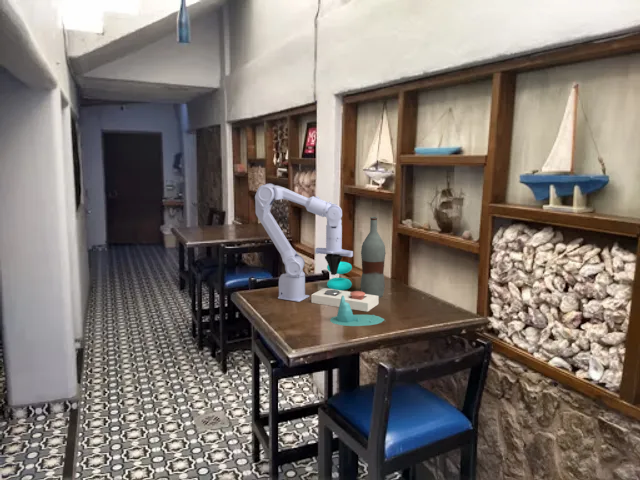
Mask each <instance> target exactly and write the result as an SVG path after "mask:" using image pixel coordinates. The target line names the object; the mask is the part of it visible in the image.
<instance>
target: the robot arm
mask: <svg viewBox="0 0 640 480" xmlns="http://www.w3.org/2000/svg"><path fill="white" fill-rule="evenodd" d="M254 200H255V201H254V202H255V203H254V204H255V215H256V217H257V219H258V220H259V221H260V223H261V225H262V227H263V228H264V230H265V232H266V233H267V235H268V236H269V238H270V240H271V241H272V243H273V244H274V246H275V248H276V250H277V251H278V252H279V254H280V257H281V259H282V263H283V264H284V271H285V273H282V274H280V276H279V278H278V297H277V299H279V300H285V301H292V302H298V303H300V302H302V301H303V300H306V299H308V298H309V297H310V295H309V294H306V273H305V272H304V270H303V269H304V268H305V265H306V264H305V259H304V258H303V256H301V255H300V254H299V253H298V252H297V251H296V250H295V249H294V248H293V246H292V245H291V243H290V241H289V240H288V239H287V237H286V236H285V233H284V232H283V230H282V229H281V227H280V226H279V224H278V222H277V220H276V219H275V217H274V216H273V214H272V213H271V209H272V207H273V203H274V201H278V200H279V201H280V200H286V201H287V200H288V201H290V202H292V203H295V204H297V205H301V206H303V207H305V209H306V211H307V212H309V213H312V214H313V215H317V216H319V217H322V218H326V225H325V234H326V235H325V236H326V237H325V247H316V248H315V250H314V251H315V252H314V253H315V254H316V255H317V254H319V255H320V254H321V255H322V254H323V255H325V256H324V259H325V261H326V263H327V265H329V268H330V271H329V273H330V275H332V276H336V275H338V274H337V270H338V266H339V263H340V262H342V259H343V257H348V258H352V257H354V251H353V250H347V249H343V248H342V247H343V246H342V245H343V243H342V242H343V241H342V240H343V239H342V238H343V234H342V233H343V225H342V224H343V223H342V222H343V221H342V217H343V210H342V208H341V206H339V205H338V204H337V203H333V202H332V201H326V200H324V199H321V197H320V196H319V195H316V196H314V195H313V196H310V197H307V196H305V195H302V194H300V193H298V192H295V191H293V190H290V189H288V188H286V187H283V186H281V185H278V184H277V185H275V184H273V183H265V184H262V185H260V186H258V188H257V190H256V193H255V196H254ZM310 298H311V297H310Z"/></svg>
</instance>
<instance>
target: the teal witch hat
mask: <svg viewBox="0 0 640 480" xmlns="http://www.w3.org/2000/svg"><path fill="white" fill-rule="evenodd" d="M353 313H354V312H353V309H351V307H350V304H349V303H347V302H345V297H344V296H342V297H341V301H340V305H339V307H338V310H337V315H335V316H332V317H330V323H332V324H335V325H338V326H345V327H362V326H365V327H367V326H373V325H378V324H382V323H383V322H385V318H383V317H381V316H378V315H375V314H353Z"/></svg>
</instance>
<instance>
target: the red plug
mask: <svg viewBox="0 0 640 480" xmlns="http://www.w3.org/2000/svg"><path fill="white" fill-rule="evenodd" d="M350 292H351V293H350V295H351V296H352V299H358V300H362V299H363V296H364V295H365V293H364V292H362V291H361V290H353V291H350Z"/></svg>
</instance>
